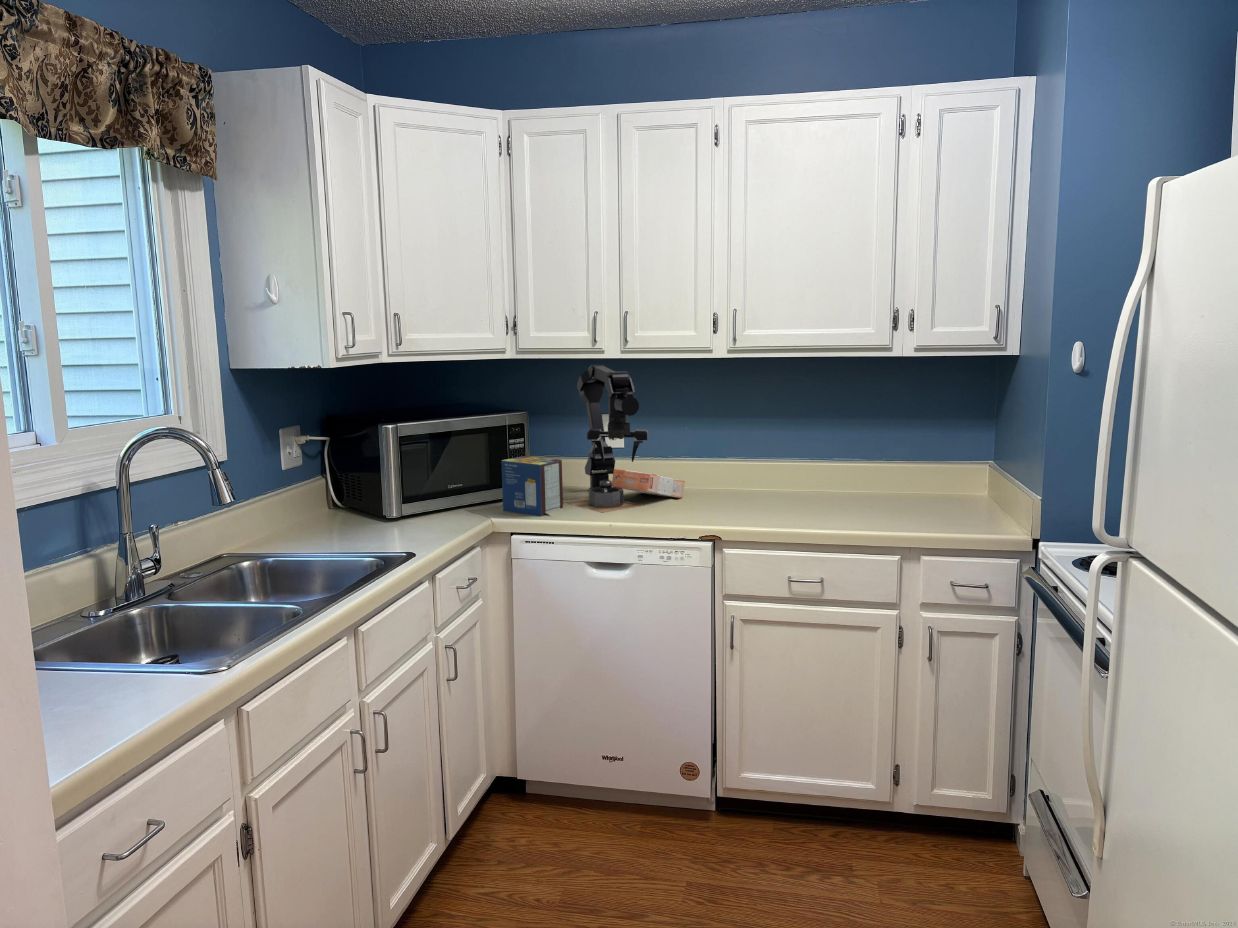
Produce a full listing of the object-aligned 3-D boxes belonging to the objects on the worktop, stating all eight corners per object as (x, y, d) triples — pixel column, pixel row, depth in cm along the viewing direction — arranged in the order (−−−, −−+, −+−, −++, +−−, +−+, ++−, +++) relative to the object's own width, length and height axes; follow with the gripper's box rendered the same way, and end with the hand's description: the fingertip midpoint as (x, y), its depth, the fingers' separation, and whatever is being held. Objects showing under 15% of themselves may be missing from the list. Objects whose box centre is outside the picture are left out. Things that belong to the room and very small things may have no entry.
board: (560, 503, 268) (560, 501, 268) (601, 497, 277) (601, 495, 277) (602, 515, 250) (602, 512, 250) (644, 508, 260) (644, 505, 260)
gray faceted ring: (577, 502, 265) (577, 488, 265) (604, 498, 271) (604, 484, 271) (602, 509, 255) (602, 494, 254) (629, 504, 261) (629, 490, 261)
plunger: (590, 502, 263) (590, 481, 262) (608, 500, 267) (607, 478, 266) (603, 506, 258) (603, 483, 257) (621, 503, 262) (620, 481, 261)
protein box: (524, 505, 267) (523, 455, 264) (563, 510, 258) (562, 459, 256) (501, 511, 258) (500, 460, 256) (541, 516, 250) (540, 464, 247)
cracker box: (685, 480, 276) (650, 473, 259) (682, 498, 275) (647, 492, 258) (649, 475, 284) (613, 468, 267) (646, 493, 283) (610, 487, 266)
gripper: (585, 415, 259) (585, 465, 262) (646, 415, 258) (646, 466, 261) (589, 410, 270) (589, 459, 273) (648, 411, 269) (648, 460, 272)
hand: (617, 461), depth 269 cm, fingers open, 9 cm apart
